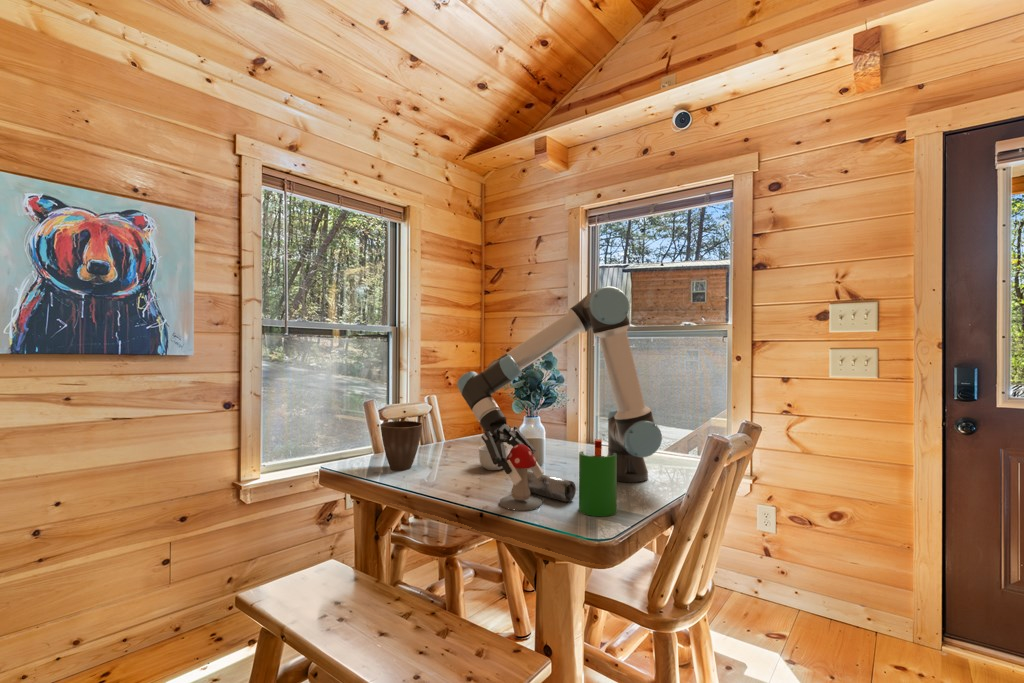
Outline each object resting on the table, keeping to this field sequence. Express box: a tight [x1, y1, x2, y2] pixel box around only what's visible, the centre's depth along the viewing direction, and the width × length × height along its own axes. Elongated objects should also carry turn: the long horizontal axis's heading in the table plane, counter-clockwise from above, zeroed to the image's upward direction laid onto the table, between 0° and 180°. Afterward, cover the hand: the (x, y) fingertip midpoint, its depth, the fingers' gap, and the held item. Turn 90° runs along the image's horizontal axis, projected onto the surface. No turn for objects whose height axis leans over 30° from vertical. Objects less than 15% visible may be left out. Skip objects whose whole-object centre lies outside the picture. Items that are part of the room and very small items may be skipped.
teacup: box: [478, 444, 509, 471], centre depth 191 cm, size 14×11×8 cm
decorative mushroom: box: [506, 444, 537, 500], centre depth 148 cm, size 10×9×15 cm
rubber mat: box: [499, 495, 543, 511], centre depth 148 cm, size 12×12×1 cm
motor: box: [578, 438, 618, 517], centre depth 142 cm, size 10×9×20 cm
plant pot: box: [380, 420, 423, 471], centre depth 189 cm, size 15×15×16 cm
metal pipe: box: [527, 470, 577, 503], centre depth 156 cm, size 6×18×6 cm, turn 47°
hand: (529, 478), depth 146 cm, fingers closed on decorative mushroom, 9 cm apart
